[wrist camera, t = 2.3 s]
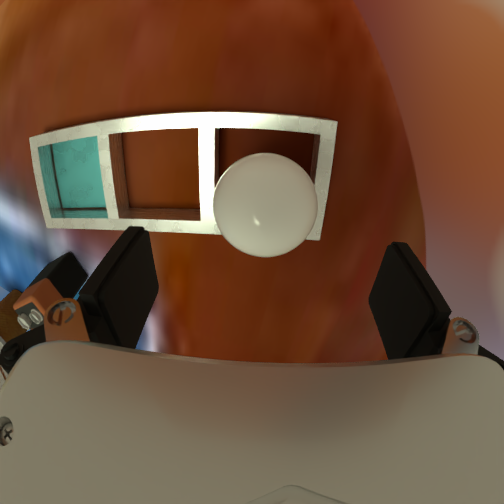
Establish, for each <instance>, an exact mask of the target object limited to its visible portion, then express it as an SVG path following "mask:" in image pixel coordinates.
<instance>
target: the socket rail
mask: <svg viewBox="0 0 504 504" xmlns="http://www.w3.org/2000/svg"><path fill="white" fill-rule="evenodd" d="M172 128H199V184H200V209H173V208H130V207H129V200H128V193H127V185H126V177H125V167H124V157H123V145H122V132H131V131H142V130H155V129H172ZM219 128H252V129H270V130H283V131H294V132H304V133H313V134H314V143H313V152H312V161H311V169H310V179H311V180H312V182H313V184H314V187H315V190H316V194H317V199H318V211H317V217H316V221H315V224H314V226H313V228H312V230H311V232H310V233H309V235H308V236H307V238H306V239H307V240H320V235H321V230H322V225H323V219H324V213H325V207H326V201H327V195H328V189H329V182H330V176H331V169H332V162H333V154H334V146H335V138H336V130H337V121H334V120H331V119H327V118H320V117H312V116H304V115H294V114H283V113H270V112H253V111H184V112H167V113H154V114H144V115H135V116H126V117H119V118H112V119H105V120H99V121H94V122H88V123H83V124H78V125H73V126H69V127H64V128H60V129H56V130H52V131H48V132H44V133H41V134H38V135H36V136H33V137H30V138H29V139H30V148H31V155H32V162H33V168H34V174H35V179H36V184H37V189H38V194H39V198H40V203H41V207H42V211H43V215H44V219H45V222H46V226H47V228H70V229H104V230H126V229H127V228H128V227H129V226H143V227H144V229H145V230H147V231H158V232H181V233H202V234H221V235H222V233H221V232H220V230H219V228H218V226H217V224H216V221H215V218H214V213H213V196H214V191H215V188H216V185H217V183H218V181H219ZM85 207H106V208H85Z"/></svg>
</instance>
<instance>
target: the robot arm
mask: <svg viewBox="0 0 504 504" xmlns="http://www.w3.org/2000/svg"><path fill="white" fill-rule="evenodd" d="M158 289H159V285H158V280H157V275H156V270H155V265H154V259H153V254H152V248H151V243H150V237H149V232H148V231H147V230H145V229H144V227H143V226H129V227H128V228H127V229H126V230H125V231H124V232H123V234H122V235H121V236H120V237H119V239H118V240H117V241H116V243H115V244H114V245H113V246H112V248H111V249H110V250H109V252H108V253H107V254H106V256H105V257H104V258H103V259H102V261H101V262H100V264H99V265H98V266H97V268H96V269H95V270H94V272H93V273H92V275H91V276H90V277H89V279H88V280H87V282H86V283H85V285H84V286H83V287H82V289H81V290H80V292H79V295H80V296H79V298H78V299H77V301H76V300H75V299H72V298H63V299H59V300H57V301H55V302H54V303H52V304H51V305H50V306H49V307H48V309H47V310H46V312H45V314H44V324H42V325H40V326H38V327H36V328H34V329H32V330H30V331H28V332H25V333H23V334H21V335H19V336H17V337H15V338H13V339H11V340H9V341H8V342H7V343H6V344H5V345H4V346H3V347H2V349H1V351H0V504H504V361H503V360H501V359H500V358H498V357H497V356H495V355H494V354H492V353H491V352H489V351H488V350H486V349H485V348H483V347H482V346H480V345H479V333H478V331H477V329H476V328H475V326H474V325H473V324H472V323H471V322H469V321H468V320H467V319H464V318H461V317H455V318H453V319H451V321H450V319H449V315H450V314H451V312H452V311H451V309H450V308H449V306H448V304H447V303H446V301H445V299H444V298H443V296H442V295H441V293H440V291H439V290H438V288H437V287H436V285H435V283H434V282H433V280H432V279H431V277H430V276H429V274H428V273H427V271H426V270H425V268H424V267H423V265H422V264H421V262H420V261H419V260H418V258H417V257H416V255H415V254H414V253H413V251H412V250H411V248H410V247H409V246H408V244H407V243H403V242H392V243H391V245H388V246H387V249H386V252H385V255H384V257H383V260H382V263H381V266H380V269H379V272H378V274H377V277H376V280H375V282H374V285H373V288H372V290H371V293H370V295H369V305H370V308H371V311H372V313H373V316H374V319H375V322H376V324H377V327H378V330H379V333H380V336H381V339H382V342H383V345H384V348H385V351H386V354H387V357H388V360H380V361H366V362H347V363H262V362H243V361H229V360H216V359H206V358H196V357H187V356H179V355H171V354H164V353H157V352H151V351H144V350H137V349H135V348H136V345H137V342H138V340H139V337H140V335H141V332H142V330H143V327H144V325H145V322H146V320H147V317H148V315H149V312H150V310H151V308H152V305H153V303H154V301H155V298H156V296H157V293H158Z"/></svg>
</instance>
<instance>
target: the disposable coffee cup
mask: <svg viewBox="0 0 504 504" xmlns="http://www.w3.org/2000/svg"><path fill="white" fill-rule="evenodd" d="M22 294H23V293H21V292H20V291H18V290H12V291H11V292H10V293H9V294H8V295H7V296H6V297H5V298H4V299H3V300H2V301H0V351H1V349H2V347H3V346H4V345H5V344H6V343H7V342H8V341H9V340H11V339H13V338H15V337H17V336H19V335H21V334H23V333H25V332H26V331H27V329H25V328H23V327H22V326H21V324H20V323H19V322H18V316H19V315H18V314H17V313H16V311H15V310H14V308H13V305H14V304H15V302H16V301H17V300H18V299H19V297H20V296H21V295H22Z"/></svg>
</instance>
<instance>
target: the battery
mask: <svg viewBox="0 0 504 504" xmlns="http://www.w3.org/2000/svg"><path fill="white" fill-rule="evenodd" d="M86 279H87V275H86V273H85V272H84V270H83V269H82V268H81V266H80V265H79V263H78V262H77V261H76V259H75V258H74V256H73V255H72V253H70V252H69V253H66V254H65V255H63V256H61V257H60V258H58V259H56V260H55V261H53V262H51V263H50V264H48V265H47V266H46V267H45V268H44V269H43V270H42V271H41V272H40V273H39V274H38V276H37V277H36V278H35V279H34V280H33V281H32V283H31V284H30V285H29V286H28V287H27V289H26V290H25V291H24V292H23V294H22V295H21V296H20V297H19V299H18V300H17V301H16V302H15V304H14V305H13V308H14V310H15V311H16V313H17V314H18V315H19V316H18V322H19V323H20V324H21V326H22V327H23V328H25V329H28V330H29V329H31V330H32V329H34V328H36V327H38V326H40V325H42V324H44V314H45V312H46V310H47V309H48V307H49V306H50V305H51V304H52V303H54V302H55V301H57V300H59V299H63V298H72V299H73V298H74V296H75V295H76V294H77V292H78V291H79V289H80V288H81V286H82V285H83V284H84V282H85V281H86Z"/></svg>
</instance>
